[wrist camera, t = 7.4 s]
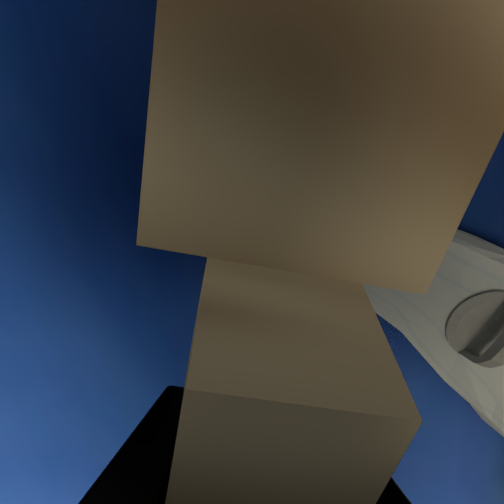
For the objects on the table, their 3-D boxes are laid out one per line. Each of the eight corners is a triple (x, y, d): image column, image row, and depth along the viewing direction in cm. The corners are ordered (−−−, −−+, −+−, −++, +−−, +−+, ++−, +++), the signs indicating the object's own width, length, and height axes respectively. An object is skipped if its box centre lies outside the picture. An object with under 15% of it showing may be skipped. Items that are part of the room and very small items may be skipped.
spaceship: (642, 396, 24) (718, 471, 20) (532, 451, 26) (582, 528, 22) (384, 90, 16) (427, 114, 12) (260, 207, 18) (263, 260, 14)
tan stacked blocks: (320, 477, 12) (350, 660, 9) (123, 454, 12) (71, 640, 8) (605, -161, 6) (1156, -438, 2) (193, -287, 5) (87, -917, 2)
